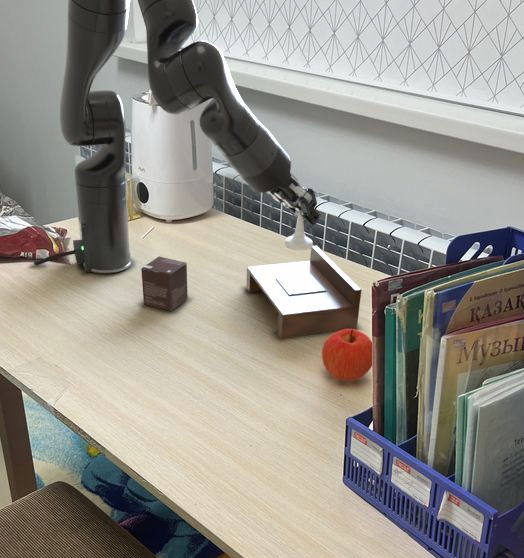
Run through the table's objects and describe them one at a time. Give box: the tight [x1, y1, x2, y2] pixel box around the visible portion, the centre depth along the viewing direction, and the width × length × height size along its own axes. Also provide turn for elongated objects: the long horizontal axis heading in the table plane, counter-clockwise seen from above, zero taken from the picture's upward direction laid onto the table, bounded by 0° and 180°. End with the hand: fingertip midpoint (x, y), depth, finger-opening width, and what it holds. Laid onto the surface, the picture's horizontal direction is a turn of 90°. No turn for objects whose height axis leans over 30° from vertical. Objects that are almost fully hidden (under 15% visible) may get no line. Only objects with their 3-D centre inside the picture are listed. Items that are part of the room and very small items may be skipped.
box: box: [140, 256, 189, 312], centre depth 124 cm, size 6×6×7 cm
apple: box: [321, 329, 373, 381], centre depth 106 cm, size 8×8×8 cm
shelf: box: [245, 245, 362, 339], centre depth 125 cm, size 14×20×8 cm
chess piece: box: [283, 186, 314, 251], centre depth 115 cm, size 5×5×10 cm
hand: (309, 217), depth 117 cm, fingers closed on chess piece
